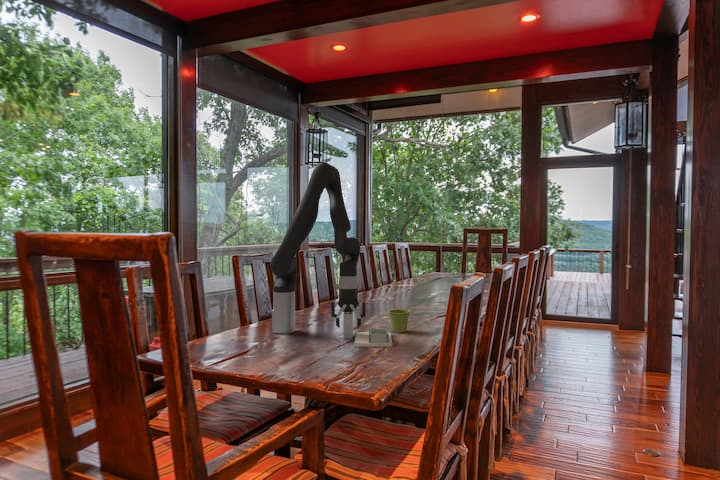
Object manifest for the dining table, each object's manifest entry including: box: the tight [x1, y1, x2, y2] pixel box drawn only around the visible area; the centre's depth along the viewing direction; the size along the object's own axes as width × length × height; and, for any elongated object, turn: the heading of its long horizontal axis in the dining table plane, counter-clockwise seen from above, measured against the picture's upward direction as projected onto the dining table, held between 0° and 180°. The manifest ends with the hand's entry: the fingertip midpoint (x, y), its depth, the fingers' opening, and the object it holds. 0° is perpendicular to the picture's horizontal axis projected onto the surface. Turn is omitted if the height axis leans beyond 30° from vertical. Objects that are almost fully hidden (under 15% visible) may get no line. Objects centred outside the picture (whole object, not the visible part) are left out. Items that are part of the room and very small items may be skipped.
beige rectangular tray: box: [354, 328, 393, 348], centre depth 179 cm, size 14×18×4 cm
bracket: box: [343, 311, 354, 340], centre depth 186 cm, size 4×6×10 cm, turn 178°
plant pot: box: [387, 308, 411, 334], centre depth 195 cm, size 9×9×9 cm
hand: (348, 327), depth 186 cm, fingers open, 7 cm apart
